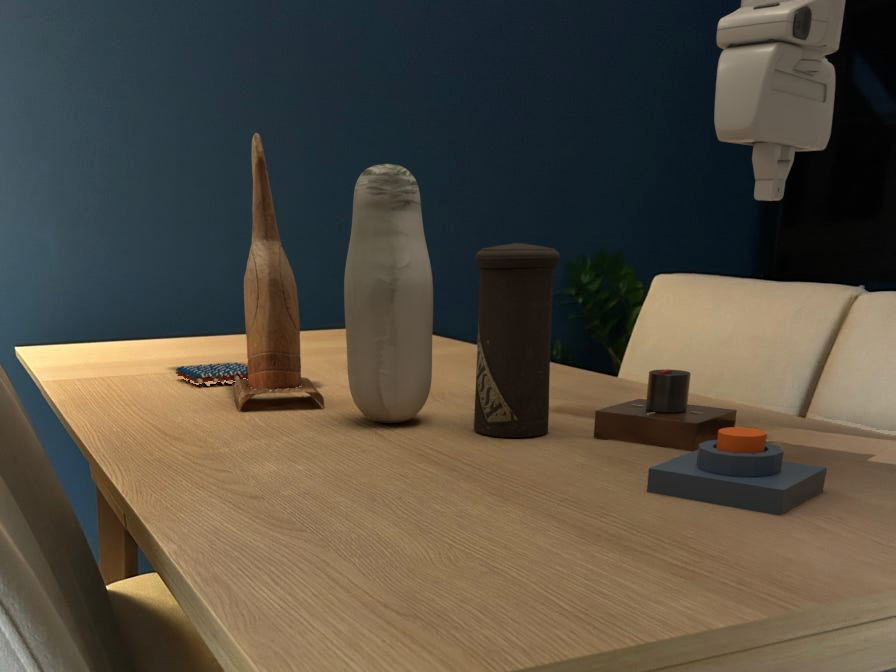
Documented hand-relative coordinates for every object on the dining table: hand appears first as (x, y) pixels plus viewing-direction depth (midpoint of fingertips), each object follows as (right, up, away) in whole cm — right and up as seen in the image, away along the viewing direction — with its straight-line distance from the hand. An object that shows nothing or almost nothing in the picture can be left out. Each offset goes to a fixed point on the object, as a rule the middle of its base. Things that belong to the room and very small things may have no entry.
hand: (768, 200), depth 92 cm
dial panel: (-6, -19, +15) cm, 25 cm away
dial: (-6, -17, +14) cm, 23 cm away
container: (-23, -18, +19) cm, 35 cm away
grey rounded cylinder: (-37, -16, +25) cm, 47 cm away
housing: (-5, -29, -7) cm, 30 cm away
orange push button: (-5, -26, -8) cm, 27 cm away
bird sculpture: (-52, -11, +37) cm, 65 cm away
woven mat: (-64, -3, +55) cm, 84 cm away
